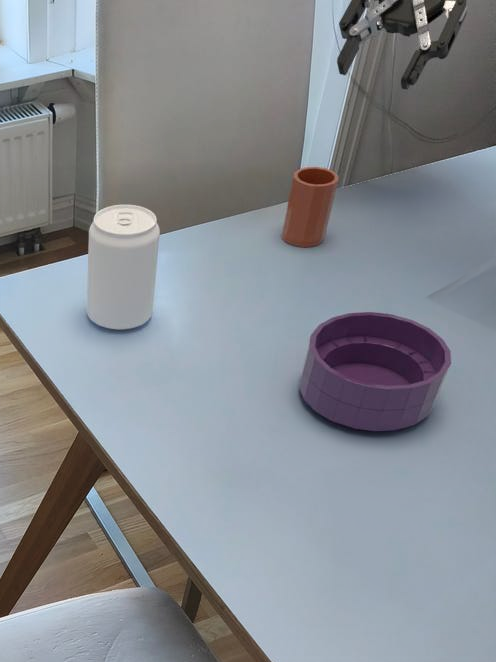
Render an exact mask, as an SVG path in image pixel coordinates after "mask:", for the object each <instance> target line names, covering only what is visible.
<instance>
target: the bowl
mask: <svg viewBox="0 0 496 662" xmlns="http://www.w3.org/2000/svg"><path fill="white" fill-rule="evenodd" d="M451 365H452V353H451V349H450V348H449V346H448V345H447V343H446V342H445V340H444V339H443V338H442V336H440V335H439V334H438V333H436V332H435V331H433V330H432V329H431V328H430V327H428V326H426V325H424V324H422V323H419V322H417V321H415V320H413V319H410V318H406V317H403V316H399V315H396V314H391V313H385V312H384V313H383V312H375V311H365V312H364V311H363V312H348V313H344V314H341V315H337V316H333V317H331V318H329V319H327V320H325V321H323V322H321V323H320V324H318V325H317V326H316V328H315V329H314V330H313V332H312V333H311V334H310V337H309V341H308V345H307V349H306V352H305V357H304V361H303V365H302V368H301V372H300V377H299V385H298V389H299V391H300V394H301V395H302V398H303V401H304V402H305V403H306V404H307V405H308V406H309V407H310V408H311V409H312V410H313V411H314V412H315V413H317V414H319V415H321V416H322V417H324V418H326V419H327V420H329V421H331V422H333V423H336V424H339V425H343V426H345V427H348V428H352V429H356V430H363V431H370V432H388V431H398V430H401V429H405V428H408V427H409V428H410V427H412V426H415V425H416V424H419V423H421V422H422V421H423V420H424V419H426V418H427V417H428V416H429V415H430V413H431V412H432V410H433V408H434V407H435V405H436V402H437V401H438V398H439V395H440V392H441V390H442V387H443V385H444V382H445V380H446V378H447V375H448V372H449V370H450V367H451Z"/></svg>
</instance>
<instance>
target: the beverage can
mask: <svg viewBox="0 0 496 662" xmlns="http://www.w3.org/2000/svg"><path fill="white" fill-rule="evenodd" d="M157 222H158V221H157V216H156V214H155V213H154V212H153V211H152V210H150V209H149V208H147V207H143V206H141V205H135V204H114V205H110V206H106V207H104V208H102V209H100V210H98V211H97V212H96V213H95V215H94V217H93V221H92V222H91V224H90V225H89V229H88V246H87V247H88V249H87V250H88V252H87V255H88V256H87V286H86V287H87V288H86V315H87V316H88V318H89V320H91V322H93V323H94V324H96V325H98V326H100V327H103V328H105V329H109V330H110V329H111V330H130V329H134V328H138V327H140V326H142V325H144V324H146V323H147V322H148V321H149V320H150V319H151V317H152V315H153V309H154V300H155V288H156V277H157V268H158V259H159V258H158V255H159V245H160V235H161V230H160V226H159V224H158V223H157Z"/></svg>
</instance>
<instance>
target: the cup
mask: <svg viewBox="0 0 496 662" xmlns="http://www.w3.org/2000/svg"><path fill="white" fill-rule="evenodd" d="M338 183H339V175H338V174H337V173H336V172H335V171H333V170H332V169H329V168H325V167H318V166H306V167H303V168H299V169H297V170H296V171H295V172H294V173H293V176H292V180H291V186H290V190H289V195H288V196H289V197H288V200H287V205H286V211H285V215H284V221H283V226H282V231H281V238H282V240H283V241H284V242H285V243H287V244H288V245H291V246H294V247H297V248H298V247H299V248H312V247H316V246H318V245H319V246H320V244H322V242H323V241H324V240H325V237H326V234H327V229H328V226H329V220H330V216H331V212H332V208H333V204H334V201H335V196H336V192H337V188H338Z"/></svg>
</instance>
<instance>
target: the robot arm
mask: <svg viewBox="0 0 496 662" xmlns="http://www.w3.org/2000/svg"><path fill="white" fill-rule="evenodd" d="M375 2H378V4H377V5H376V6H375V7H373V8H372V9H371V10H369V11H368V12H367V13H365V10H366V9H370V7H371V6H372V5H373V3H375ZM467 4H468V3H467V0H350V1H349V4H348V6H347V7H346V10H345V12H344V13H343V15H342V17H341V19H340V21H339V22H338V26H339V31H340V34H341V38H342V39H343V40H345V42H344V44H343V46H342V48H341V50H340V52H339V54H338V56H337V59H336V64H337V69H338V73H339V75H342V76H347V74H348V72H349V70H350V68H351V66H352V64H353V62H354V59H356V57H357V54H358V52H359V50H360V45H362V44H363V43H364V42H366V41H367V40H368V39H370V38H371V37H372V38H375V37H377V36H378V35H379V34H381V33H382V32H383V31H385V32H386V33H388V34H400V35H402V36H404V37H409V38H410V37H411V35H415V34H416V35H417V42H418V47H419V49H416V50H415V51H414V53H413V55H412V57H411V59H410V61H409V63H408V65H407V66H406V69H405V71H404V72H403V74H402V76H401V79H400V87H401V89H403V90H409V89H410V87H411V86H415V84H416V83H417V82H418V80H419V78H420V77H421V75H422V73H423V71H424V69H425V67H426V65H427V64H428V62H429V61H430V60H431V59H435V58H436V59H437V58H438V59H439V60H444V59H446V58H447V57H448V56H449V54H450V51H451V49H452V47H453V45H454V43H455V41H456V38H457V37H458V34H459V32H460V30H461V28H462V25H463V23H464V22H465V19H466V17H467V13H468V5H467ZM364 13H365V16H364V18H362V16H363V14H364ZM443 14H444V15H445V16H444V17H445V19H444V20H445V23H444V27H443V28H442V31H441V33H440V35H439V37H438V40H434V41H431V36H430V29H429V25H430V24H431V23H432V22H434V21H435V20H436V19H438V18H440V16H442V15H443ZM361 18H362V19H361ZM378 19H379V20H378Z"/></svg>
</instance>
